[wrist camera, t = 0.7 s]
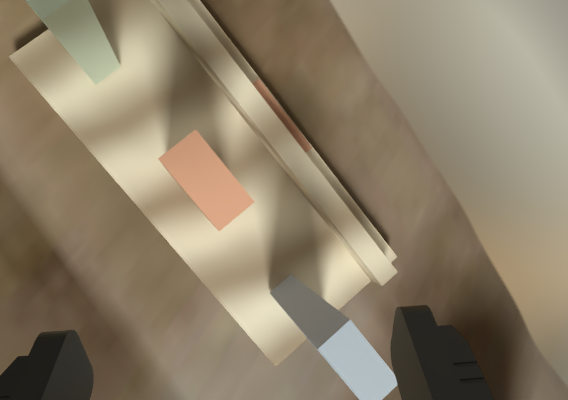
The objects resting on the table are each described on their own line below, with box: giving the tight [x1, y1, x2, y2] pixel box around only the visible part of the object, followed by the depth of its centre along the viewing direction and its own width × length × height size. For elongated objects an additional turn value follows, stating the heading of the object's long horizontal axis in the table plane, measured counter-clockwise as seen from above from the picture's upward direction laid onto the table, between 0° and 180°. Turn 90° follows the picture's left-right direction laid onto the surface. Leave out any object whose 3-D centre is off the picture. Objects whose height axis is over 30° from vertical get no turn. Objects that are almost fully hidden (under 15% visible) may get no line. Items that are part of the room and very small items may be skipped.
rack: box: [9, 0, 397, 367], centre depth 32 cm, size 27×12×4 cm, turn 39°
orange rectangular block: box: [158, 129, 254, 231], centre depth 26 cm, size 4×2×12 cm, turn 39°
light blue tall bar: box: [270, 274, 398, 400], centre depth 28 cm, size 4×2×12 cm, turn 39°
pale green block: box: [25, 0, 121, 85], centre depth 24 cm, size 4×2×12 cm, turn 39°
